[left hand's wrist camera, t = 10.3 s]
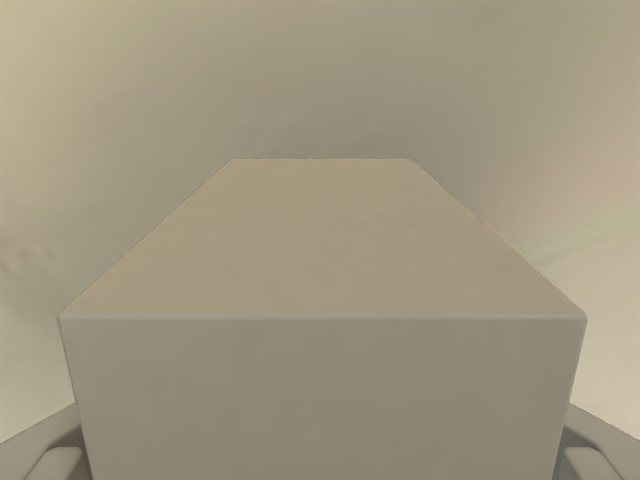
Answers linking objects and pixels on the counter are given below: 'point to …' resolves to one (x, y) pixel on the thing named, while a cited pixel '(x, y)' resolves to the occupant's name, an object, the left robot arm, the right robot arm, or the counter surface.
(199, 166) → the counter surface
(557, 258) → the counter surface
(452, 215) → the bar
